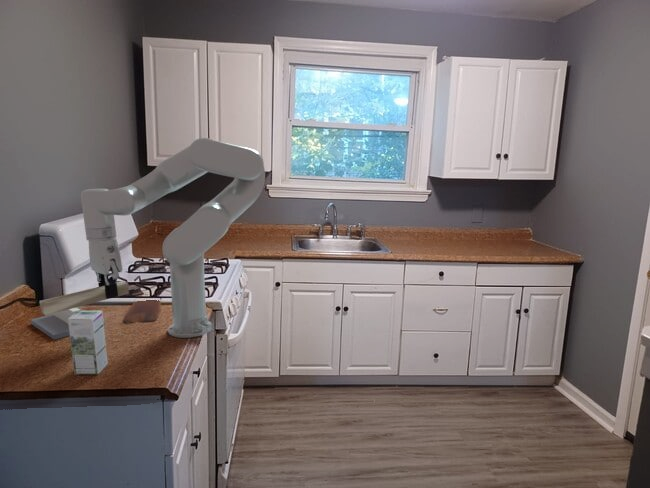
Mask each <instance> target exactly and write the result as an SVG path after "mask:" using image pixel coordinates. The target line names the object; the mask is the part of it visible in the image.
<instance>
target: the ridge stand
mask: <svg viewBox="0 0 650 488" xmlns="http://www.w3.org/2000/svg"><path fill="white" fill-rule="evenodd" d="M78 311H85V310H84V309H82V308H80V307H76V308H72V309H68V310H64V311H61V312H57V313H53V314H49V315H44V316H40V317H37V318H31V319H30V323H31V326H33V327H35V328H36V329H37V330H39V331H40V332H42V333H44V334H45V335H46V336H48V337H50V338H51V339H53V340H54V341H55V340H59V339H61V338H65V337H66V338H67V337H70V333H69V325H68V318H69V317H71V316H72V315H73V314H74V313H76V312H78ZM103 322H104V323H105V321H104V320H103Z"/></svg>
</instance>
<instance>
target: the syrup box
mask: <svg viewBox="0 0 650 488" xmlns="http://www.w3.org/2000/svg"><path fill="white" fill-rule="evenodd" d="M103 321H104V314H103V310H84V311H78V312H76V313H74V314H73V315H72V316H71V317H69V318H68V325H69V333H70V336H69V338H70V339H69V340H70V348H71V349H70V350H71V356H72V364H73V365H72V366H73V372H74V375H75V376H76V375H79V376H81V375H84V376H85V375H99V374H100V373H102V371H103V370H104V369H105V367H107V366H108V355H107V353H108V352H107V345H106V344H107V343H106V336H105V321H104V322H103Z"/></svg>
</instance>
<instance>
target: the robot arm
mask: <svg viewBox="0 0 650 488" xmlns="http://www.w3.org/2000/svg"><path fill="white" fill-rule="evenodd" d="M264 163H265V162H264V159H263V156H262V155H261V154H260V153H259V152H258V151H257V150H256V149H252V148H250V147H249V148H248V147H246V146H240V145H236V144H231V143H227V142H222V141H220V140H216V139H213V138H209V137H200V138H199V137H198V138H197V139H195V140H194V141H193V142H191V144H190V145H189V146H187V147H186V148H184V149H182V150H181V151H179V152H176V153H175V154H173V155H171V156H169V157H168V158H166V159H164V160H163V161H161V162H160V163H159V164H158V165H157V166H156V167H155V169H153V170H152V171H151V172H149V173H147V175H145V176H143V177H141V178H139V179H137V180H136V181H134V182H131V184H129V185H127V186H122V187H119V188H114V189H108V188H87V189H85V190H82V191H81V193H80V200H81V207H82V208H81V209H82V216H83V222H84V231H85V237H86V241H88V255H89V263H90V269H91V270H92V271H93V272H94V273H95V275H96V281H97V284H98V285H97V286H98V287H101V286H105V293H106V298H107V299H106V300H109V299H113V298H117V297H119V296H118V290H117V282H118V278H120V273H122V272H123V264H122V263H123V262H122V257H121V251H120V248H119V247H120V246H119V244H118V241H117V240H118V239H117V230H116V222H115V216H122V217H123V216H129V215H132V214H134V213H136V212H137V211H140V210H142V209H143V208H145V207H147V206H148V205H150V204H152V203H154V202H155V201H157V200H159V199H161V198H162V197H164V196H166V195H167V194H170V193H173V192H175V191H178V190H179V189H182V188H183V187H184V186H186V185H189V184H190V183H191V182H193V181H195V180H196V179H198V178H200V177H202V176H204V175H205V174H207V173H212V174H216V175H221V176H225V177H228V178H229V177H230V178H234V179H233V181H231V182H230V183H229V184H228V185H227V186H226V187H225V188H224V189H223V190H222V191H220V192H219V193H218V194H217V195H216V196H215V197H214V198H212V199H211V200H210V201H208V202H207V203H205V204H203V205H202V206H200V208H199V209H197V210H196V211H195V212H194V213H193V214H192V215H191V216H190V217H188V218H187V219H186V220H185V221H184V222H183V223H182V224H180V225H179V226H178V227H175V228H174V229H173V230H172V231H171V232H169V234H168V235H167V236H166V237H165V238H164V240H163V242H162V250H161V251H162V254H163V257H164V259H166V262H168V263H169V275H170V276H169V277H170V292H171V293H170V294H171V309H172V323H171V324H170V325H169V326H168V328H167V332H168V334H169V335H170V336H171V337H175V338H178V339H179V338H182V339H189V338H190V339H191V338H195V337H200V336H203V335H206V334H207V333H209V332H211V330H212V329H213V323H212V322H211V321H209V320H208V316H207V307H206V306H207V305H206V304H207V303H206V287H205V286H206V285H205V282H206V281H205V279H206V277H205V253H206V252H207V251H209V249H210V248H212V247H213V246H214V245H215V244H216V243H217V242H219V241H220V240H221V239H222V238H223V237H224V236H225V234H226V233H227V232H228V231H229V228H230V226H231V225H232V223H233V222H234V221H236V219H238V218H239V217H240V216H241V215H242V214H244V212H245V211H247V210H248V209H249V208H250V207H251V206H252V205H253V204H254V203H255V202H256V201H257V200H258V199H259V197H260V195H261V193H262V191H263V189H264V186H265V185H264V184H265V181H266V169H265V165H264Z"/></svg>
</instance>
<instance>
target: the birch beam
mask: <svg viewBox="0 0 650 488" xmlns="http://www.w3.org/2000/svg"><path fill="white" fill-rule="evenodd" d="M117 290H118V296H117V297H121V296H124V295H128V294H130V291H129V283H128V282H125V281H123V280H122V281H117ZM105 300H108V299H107V298H106V293H105V286H101V287H99V286H97V287H96V286H95V287H93V288H88V289H85V290H79V291H75V292H72V293H68V294H64V295H59V296H55V297H50V298H47V299H42V300H39V307H40V308H39V309H40V313H41V314H42V315H44V316H48V315H52V314H53V313H57V312H61V311H64V310H68V309H72V308H80V307H82V306H86V305H90V304H94V303H98V302H102V301H105Z"/></svg>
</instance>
